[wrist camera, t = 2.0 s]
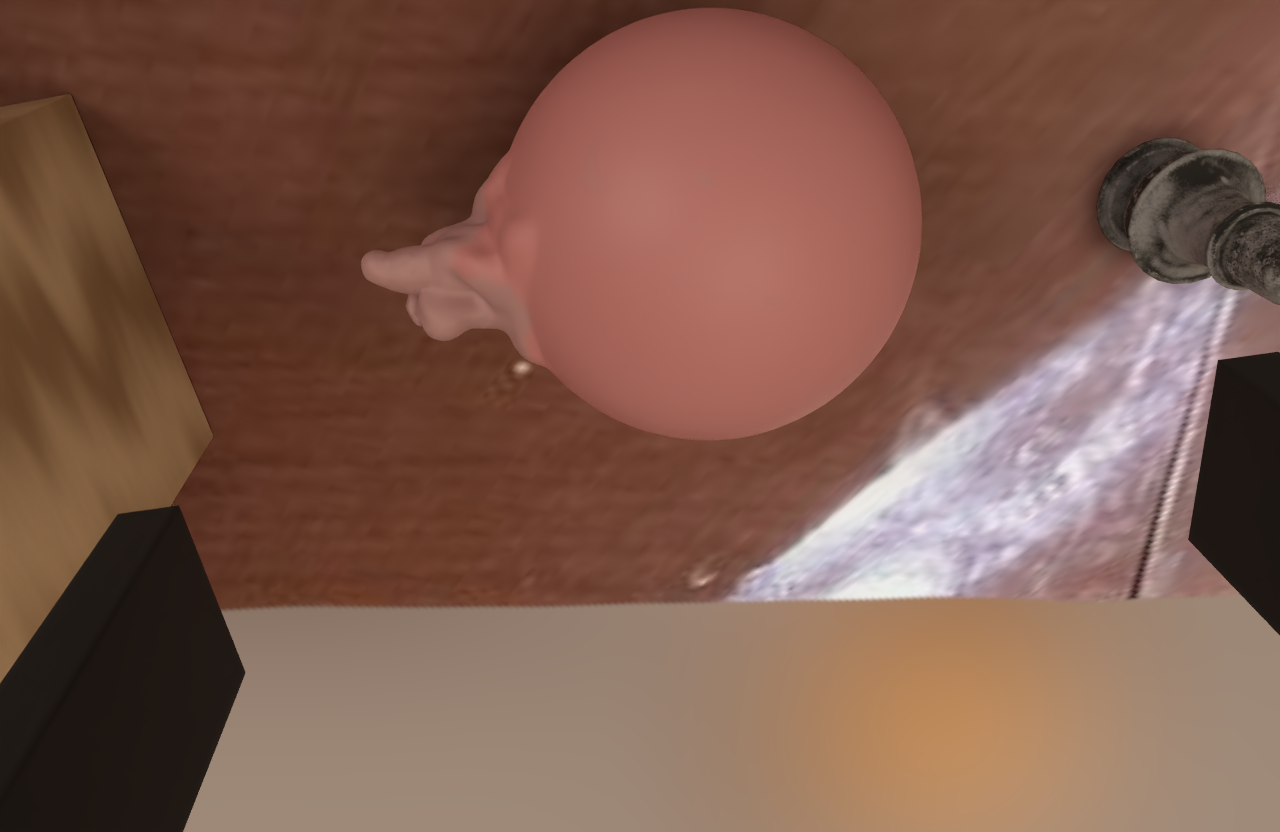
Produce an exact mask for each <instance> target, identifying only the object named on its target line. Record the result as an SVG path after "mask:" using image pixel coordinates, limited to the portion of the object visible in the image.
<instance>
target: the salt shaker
mask: <svg viewBox="0 0 1280 832" xmlns="http://www.w3.org/2000/svg"><path fill="white" fill-rule="evenodd" d="M1097 217H1098V222H1099V225H1100V227H1101V230H1102V232H1103V234H1104V235H1105V236H1106V237H1107V238H1108V240H1109V241H1110V242H1111V243H1113V244H1115V245H1116V246H1118V247H1120V248H1121V249H1123V250H1127V251H1131V252H1132V255H1133V258H1134V260H1135V262H1136V263H1137V264H1138V265H1139V266H1140V268H1141V269H1142V270H1143V271H1144V272H1145V273H1147V274H1148V275H1150V276H1152V277H1153V278H1155V279H1157V280H1159V281H1163V282H1167V283H1172V284H1182V283H1192V282H1196V281H1199V280H1203V279H1206V278H1209V277H1210V276H1212V277H1213V278H1214V280H1215V281H1216V282H1218V283H1219V284H1221V285H1222V286H1224V287H1226V288H1230V289H1234V290H1247V289H1250V290H1252V291H1253V292H1255V293H1257V294H1259V295H1260V296H1262V297H1264V298H1266V299H1267V300H1269V301H1271V302H1272V303H1274V304H1277V305H1280V205H1279V204H1275V203H1272V202H1266V189H1265V186H1264V183H1263V179H1262V176H1261V174H1260V172H1259V171H1258V170H1257V168H1256V167H1255V166H1254V164H1253V163H1252V162H1251V161H1250V160H1248V159H1247V158H1245V157H1244V156H1242V155H1241V154H1239V153H1236V152H1232V151H1228V150H1224V149H1204V150H1200V149H1199V148H1197V147H1196V146H1194V145H1193V144H1191V143H1190V142H1188V141H1184V140H1180V139H1176V138H1159V139H1155V140H1152V141H1149V142H1145V143H1143V144H1141V145H1139V146H1138V147H1136V148H1134V149H1132V150H1131V151H1129V152H1128V153H1127V154H1125V155H1124V156H1123V157H1122V158H1121V159H1120V160H1119V161H1118V162H1117V163H1116V164H1115V165H1114V166H1113V168H1112V169H1111V171H1110V172H1109V173H1108V175H1107V176H1106V178H1105V180H1104V182H1103V185H1102V187H1101V189H1100V191H1099V197H1098V202H1097Z"/></svg>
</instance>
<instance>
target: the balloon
mask: <svg viewBox="0 0 1280 832" xmlns="http://www.w3.org/2000/svg"><path fill="white" fill-rule="evenodd" d="M921 237H922V207H921V195H920V188H919V182H918V177H917V173H916V169H915V165H914V161H913V158H912V155H911V151H910V148H909V146H908V143H907V140H906V138H905V136H904V133H903V131H902V129H901V127H900V125H899V123H898V121H897V119H896V117H895V116H894V114H893V112H892V110H891V109H890V107H889V105H888V104H887V102H886V101H885V99H884V98H883V96H882V95H881V94H880V92H879V91H878V90H877V89H876V87H875V86H874V85H873V84H872V82H871V81H870V80H869V79H868V78H867V77H866V75H865V74H864V73H863V72H862V71H861V70H860V69H859V68H858V67H857V66H856V65H855V64H854V63H853V62H851V61H850V60H849V59H848V58H847V57H846V56H844V55H843V54H842V53H841V52H839V51H838V50H837V49H836V48H834V47H833V46H831V45H830V44H828V43H827V42H825V41H824V40H822V39H821V38H819V37H817V36H815V35H814V34H812V33H810V32H808V31H806V30H804V29H802V28H800V27H798V26H796V25H793V24H791V23H788V22H786V21H783V20H780V19H777V18H774V17H771V16H768V15H764V14H760V13H756V12H751V11H746V10H739V9H731V8H692V9H684V10H678V11H672V12H667V13H663V14H659V15H656V16H652V17H648V18H645V19H642V20H639V21H637V22H634V23H632V24H629V25H627V26H625V27H623V28H621V29H618V30H616V31H614V32H613V33H611V34H609V35H607V36H605V37H604V38H602V39H600V40H599V41H597V42H596V43H594V44H593V45H591V46H590V47H588V48H587V49H585V50H584V51H583V52H581V53H580V54H579V55H578V56H576V57H575V58H574V59H573V60H572V61H571V62H569V63H568V64H567V65H566V66H565V67H564V68H563V69H562V70H561V71H560V72H559V73H558V74H557V75H556V76H555V77H554V78H553V79H552V80H551V82H550V83H549V84H548V85H547V86H546V87H545V89H544V90H543V91H542V92H541V94H540V95H539V96H538V98H537V99H536V101H535V102H534V104H533V105H532V107H531V108H530V110H529V111H528V113H527V115H526V116H525V118H524V120H523V122H522V124H521V126H520V128H519V130H518V132H517V134H516V136H515V138H514V140H513V143H512V145H511V148H510V150H509V151H508V153H507V154H506V155H505V156H504V157H502V159H501V160H500V161H499V162H498V163H497V165H496V166H495V168H494V169H493V171H492V172H491V174H490V176H489V177H488V179H487V180H486V181H485V182H484V183H483V185H482V186H481V187H480V189H479V190H478V192H477V194H476V196H475V199H474V203H473V209H472V214H471V216H470V218H468V219H467V220H465V221H463V222H460V223H457V224H454V225H451V226H448V227H445V228H441V229H439V230H437V231H435V232H434V233H432V234H430V235H429V236H427V237H426V238H425V239H424V240H423V242H422V244H421V245H416V246H409V247H404V248H399V249H396V250H394V251H392V252H386V251H381V250H372V251H370V252H368V253H367V254H366V255H364V257H363V258H362V261H361V269H362V272H363V274H364V276H365V278H366V279H367V280H369V281H371V282H373V283H375V284H377V285H380V286H382V287H385V288H388V289H390V290H392V291H396V292H400V293H406V294H408V299H407V302H406V309H407V312H408V314H409V316H410V317H411V319H412V320H413V322H414V323H415V324H416V325H417V326H423V329H424V331H425V332H426V334H427V335H429V336H430V337H431V338H433V339H436V340H440V341H449V340H452V339H454V338H456V337H458V336H459V335H461V334H462V333H464V332H465V331H467V330H469V329H474V328H478V329H499V330H502V331H504V332H505V333H507V334H508V336H509V337H510V339H511V341H512V344H513V346H514V347H515V349H516V350H517V352H518V353H519V354H520V355H521V356H522V357H523V358H525V359H526V360H528V361H530V362H532V363H534V364H537V365H540V366H543V367H545V368H547V369H549V370H550V371H551V372H552V373H553V374H554V375H555V376H556V377H557V378H558V379H559V380H560V381H561V382H562V383H563V384H564V385H565V386H566V387H568V388H569V389H570V390H571V391H572V392H573V393H575V394H576V395H577V396H578V397H580V398H581V399H582V400H584V401H585V402H587V403H588V404H589V405H591V406H592V407H594V408H596V409H597V410H599V411H601V412H602V413H604V414H606V415H608V416H610V417H611V418H613V419H615V420H618V421H620V422H622V423H624V424H627V425H629V426H632V427H635V428H637V429H640V430H643V431H646V432H650V433H654V434H658V435H662V436H667V437H673V438H679V439H689V440H728V439H737V438H742V437H748V436H752V435H756V434H760V433H764V432H767V431H770V430H773V429H776V428H779V427H782V426H784V425H786V424H789V423H791V422H793V421H796V420H798V419H800V418H802V417H804V416H806V415H808V414H809V413H811V412H813V411H815V410H816V409H818V408H820V407H821V406H823V405H824V404H826V403H827V402H829V401H830V400H831V399H833V398H834V397H835V396H837V395H838V394H839V393H841V392H842V391H843V390H844V389H845V388H846V387H848V386H849V385H850V384H851V383H852V382H853V381H854V380H855V379H856V378H857V377H858V376H859V375H860V374H861V373H862V372H863V371H864V370H865V369H866V368H867V367H868V365H869V364H870V363H871V362H872V361H873V359H874V358H875V357H876V356H877V354H878V353H879V352H880V350H881V349H882V347H883V346H884V344H885V343H886V341H887V340H888V338H889V337H890V335H891V333H892V332H893V330H894V328H895V326H896V324H897V322H898V320H899V318H900V316H901V314H902V312H903V310H904V308H905V305H906V303H907V300H908V297H909V295H910V292H911V289H912V286H913V282H914V279H915V275H916V270H917V266H918V261H919V255H920V248H921Z"/></svg>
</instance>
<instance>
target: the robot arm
mask: <svg viewBox="0 0 1280 832" xmlns="http://www.w3.org/2000/svg"><path fill="white" fill-rule="evenodd" d="M1188 540H1189V541H1190V542H1191V543H1192V544H1193V545H1194V546H1195V547H1196V548H1197V549H1198V550H1199V551H1200V552H1201V553H1202V555H1203V556H1204V557H1205V558H1206V559H1207V560H1208V561H1209V562H1210V563H1211V564H1212V565H1213V566H1214V567H1215V568H1216V569H1217V570H1218V571H1219V572H1220V573H1221V574H1222V575H1223V576H1224V578H1225V579H1226V580H1227V581H1228V582H1229V583H1230V584H1231V585H1232V586H1233V587H1234V588H1235V589H1236V590H1237V591H1238V592H1239V593H1240V594H1241V595H1242V596H1243V597H1244V598H1245V599H1246V600H1247V602H1248V603H1249V604H1250V605H1251V606H1252V607H1253V608H1254V609H1255V610H1256V611H1257V612H1258V613H1259V614H1260V615H1261V616H1262V617H1263V618H1264V619H1265V620H1266V621H1267V622H1268V623H1269V625H1270V626H1271V627H1272V628H1273V629H1274V630H1275V631H1276V632H1277V633H1278V634H1279V635H1280V353H1279V352H1274V353H1266V354H1259V355H1252V356H1245V357H1238V358H1231V359H1223V360H1218V364H1217V370H1216V376H1215V382H1214V388H1213V394H1212V400H1211V406H1210V412H1209V418H1208V424H1207V430H1206V436H1205V442H1204V448H1203V454H1202V460H1201V466H1200V472H1199V478H1198V484H1197V490H1196V496H1195V502H1194V508H1193V514H1192V521H1191V527H1190V533H1189V539H1188ZM244 675H245V670H244V668H243V665H242V663H241V660H240V658H239V655H238V653H237V650H236V648H235V645H234V642H233V640H232V638H231V635H230V632H229V630H228V627H227V625H226V622H225V620H224V617H223V615H222V612H221V610H220V607H219V605H218V602H217V600H216V597H215V595H214V592H213V590H212V587H211V585H210V582H209V580H208V577H207V575H206V572H205V570H204V567H203V565H202V562H201V560H200V557H199V555H198V552H197V550H196V547H195V545H194V542H193V540H192V537H191V535H190V532H189V530H188V527H187V525H186V522H185V520H184V517H183V515H182V512H181V510H180V507H179V505H178V506H171V507H164V508H157V509H150V510H142V511H135V512H128V513H121V514H117V516H116V517H115V519H114V520H113V521H112V523H111V524H110V526H109V527H108V529H107V530H106V532H105V533H104V534H103V536H102V537H101V539H100V540H99V542H98V543H97V545H96V546H95V547H94V549H93V550H92V552H91V553H90V555H89V556H88V558H87V559H86V560H85V562H84V563H83V565H82V566H81V568H80V569H79V570H78V572H77V573H76V575H75V576H74V578H73V579H72V581H71V582H70V583H69V585H68V586H67V588H66V589H65V591H64V592H63V594H62V595H61V596H60V598H59V599H58V601H57V602H56V604H55V605H54V606H53V608H52V609H51V611H50V612H49V614H48V615H47V617H46V618H45V619H44V621H43V622H42V624H41V625H40V627H39V628H38V630H37V631H36V632H35V634H34V635H33V637H32V638H31V640H30V641H29V643H28V644H27V645H26V647H25V648H24V650H23V651H22V653H21V654H20V655H19V657H18V658H17V660H16V661H15V663H14V664H13V666H12V667H11V668H10V670H9V671H8V673H7V674H6V676H5V677H4V679H3V680H2V681H1V683H0V832H183V830H184V828H185V825H186V823H187V820H188V818H189V815H190V812H191V810H192V807H193V805H194V802H195V800H196V797H197V795H198V792H199V790H200V787H201V784H202V782H203V779H204V777H205V774H206V772H207V769H208V767H209V764H210V761H211V759H212V756H213V754H214V751H215V749H216V746H217V744H218V741H219V739H220V736H221V734H222V731H223V728H224V726H225V723H226V721H227V718H228V716H229V713H230V711H231V708H232V706H233V703H234V701H235V698H236V696H237V693H238V691H239V688H240V685H241V683H242V680H243V678H244Z"/></svg>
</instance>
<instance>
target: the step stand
mask: <svg viewBox="0 0 1280 832" xmlns="http://www.w3.org/2000/svg"><path fill="white" fill-rule="evenodd" d="M212 438H213V434H212V431H211V429H210V427H209V424H208V422H207V419H206V417H205V415H204V412H203V410H202V408H201V405H200V403H199V400H198V398H197V396H196V393H195V391H194V388H193V386H192V384H191V381H190V379H189V376H188V374H187V372H186V369H185V367H184V364H183V362H182V360H181V357H180V355H179V352H178V350H177V348H176V345H175V343H174V340H173V338H172V336H171V333H170V331H169V328H168V326H167V324H166V321H165V319H164V316H163V314H162V312H161V309H160V307H159V304H158V302H157V300H156V297H155V295H154V292H153V290H152V288H151V285H150V283H149V280H148V278H147V276H146V273H145V271H144V268H143V266H142V264H141V261H140V259H139V256H138V254H137V252H136V249H135V247H134V244H133V242H132V240H131V237H130V235H129V232H128V230H127V228H126V225H125V223H124V221H123V218H122V216H121V213H120V211H119V209H118V206H117V204H116V201H115V199H114V197H113V194H112V192H111V189H110V187H109V185H108V182H107V180H106V177H105V175H104V173H103V170H102V168H101V165H100V163H99V161H98V158H97V156H96V153H95V151H94V149H93V146H92V144H91V141H90V139H89V137H88V134H87V132H86V129H85V127H84V125H83V122H82V120H81V117H80V115H79V113H78V110H77V108H76V105H75V103H74V101H73V98H72V96H71V94H67V95H61V96H56V97H50V98H45V99H40V100H34V101H29V102H24V103H18V104H13V105H8V106H2V107H0V683H1V681H2V680H3V679H4V677H5V676H6V674H7V673H8V671H9V670H10V668H11V667H12V666H13V664H14V663H15V661H16V660H17V658H18V657H19V655H20V654H21V653H22V651H23V650H24V648H25V647H26V645H27V644H28V643H29V641H30V640H31V638H32V637H33V635H34V634H35V632H36V631H37V630H38V628H39V627H40V625H41V624H42V622H43V621H44V619H45V618H46V617H47V615H48V614H49V612H50V611H51V609H52V608H53V606H54V605H55V604H56V602H57V601H58V599H59V598H60V596H61V595H62V594H63V592H64V591H65V589H66V588H67V586H68V585H69V583H70V582H71V581H72V579H73V578H74V576H75V575H76V573H77V572H78V570H79V569H80V568H81V566H82V565H83V563H84V562H85V560H86V559H87V558H88V556H89V555H90V553H91V552H92V550H93V549H94V547H95V546H96V545H97V543H98V542H99V540H100V539H101V537H102V536H103V534H104V533H105V532H106V530H107V529H108V527H109V526H110V524H111V523H112V521H113V520H114V519H115V517H116V516H117V514H121V513H128V512H135V511H142V510H150V509H157V508H164V507H170V506H171V504H172V503H173V501H174V500H175V498H176V496H177V495H178V493H179V491H180V490H181V488H182V486H183V485H184V483H185V482H186V480H187V478H188V477H189V475H190V473H191V472H192V470H193V469H194V467H195V465H196V464H197V462H198V460H199V459H200V457H201V456H202V454H203V452H204V451H205V449H206V447H207V446H208V444H209V442H210V441H211V439H212Z"/></svg>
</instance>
